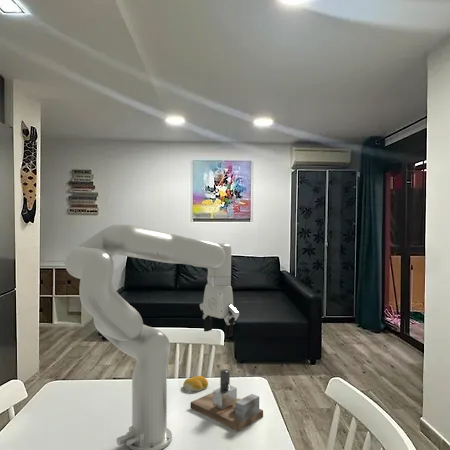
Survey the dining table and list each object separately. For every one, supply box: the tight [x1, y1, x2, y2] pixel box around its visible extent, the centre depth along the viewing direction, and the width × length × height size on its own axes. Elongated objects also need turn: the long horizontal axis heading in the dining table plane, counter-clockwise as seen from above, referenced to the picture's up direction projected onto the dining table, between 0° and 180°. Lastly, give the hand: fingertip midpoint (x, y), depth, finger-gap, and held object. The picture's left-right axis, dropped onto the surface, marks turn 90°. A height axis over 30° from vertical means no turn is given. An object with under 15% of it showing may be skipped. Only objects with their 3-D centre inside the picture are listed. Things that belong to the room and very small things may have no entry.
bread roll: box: [183, 375, 209, 393], centre depth 149 cm, size 8×9×4 cm
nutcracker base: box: [190, 391, 264, 432], centre depth 129 cm, size 12×21×7 cm, turn 47°
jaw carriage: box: [212, 368, 238, 410], centre depth 130 cm, size 7×4×11 cm, turn 137°
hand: (218, 333), depth 130 cm, fingers open, 9 cm apart
